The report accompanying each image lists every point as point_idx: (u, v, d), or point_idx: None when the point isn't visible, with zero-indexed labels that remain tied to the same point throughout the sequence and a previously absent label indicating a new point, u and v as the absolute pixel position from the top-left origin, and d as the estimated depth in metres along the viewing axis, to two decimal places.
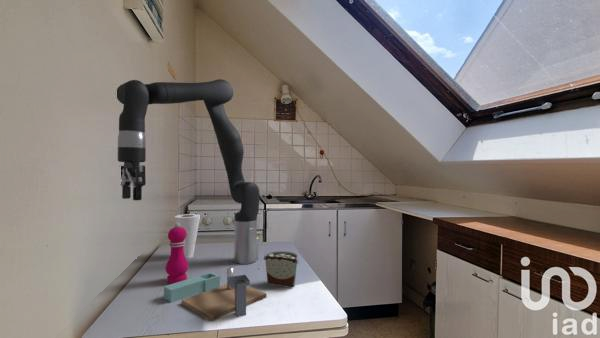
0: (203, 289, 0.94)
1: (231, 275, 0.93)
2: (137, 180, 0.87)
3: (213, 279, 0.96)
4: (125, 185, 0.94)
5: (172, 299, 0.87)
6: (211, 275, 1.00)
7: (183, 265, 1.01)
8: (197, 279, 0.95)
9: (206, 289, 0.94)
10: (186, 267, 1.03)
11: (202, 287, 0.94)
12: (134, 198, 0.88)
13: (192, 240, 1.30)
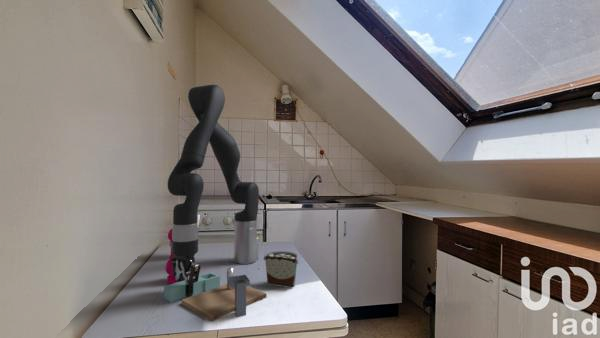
0: (203, 289, 0.94)
1: (231, 275, 0.93)
2: (191, 279, 0.88)
3: (213, 279, 0.96)
4: (180, 278, 0.93)
5: (172, 299, 0.87)
6: (211, 275, 1.00)
7: None
8: None
9: (206, 289, 0.94)
10: None
11: (202, 287, 0.94)
12: (187, 294, 0.89)
13: None
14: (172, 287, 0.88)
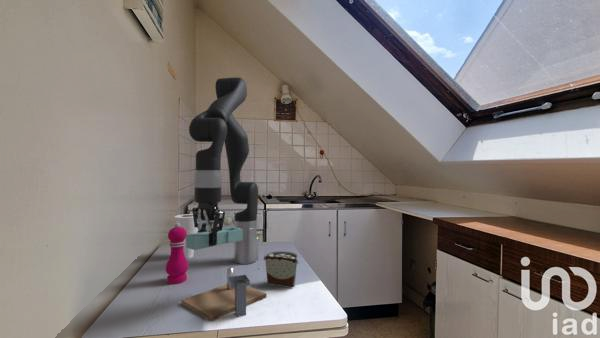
0: (226, 241, 0.90)
1: (231, 275, 0.93)
2: (215, 227, 0.83)
3: (236, 232, 0.92)
4: (202, 229, 0.89)
5: (195, 247, 0.82)
6: (233, 229, 0.96)
7: (183, 265, 1.01)
8: (220, 231, 0.90)
9: (229, 241, 0.90)
10: (186, 267, 1.03)
11: (225, 239, 0.90)
12: (210, 244, 0.85)
13: None
14: (195, 235, 0.84)
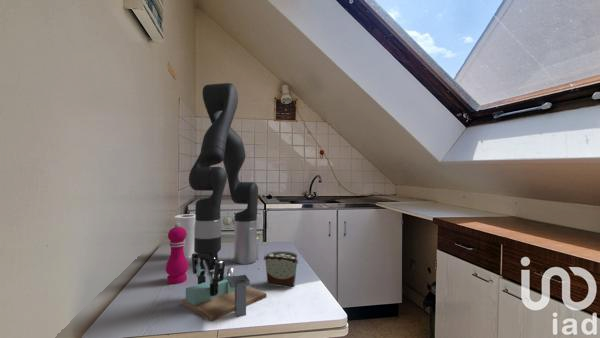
0: (226, 291, 0.90)
1: (231, 275, 0.93)
2: (216, 278, 0.83)
3: None
4: (200, 276, 0.89)
5: (195, 302, 0.82)
6: None
7: (183, 265, 1.01)
8: (220, 281, 0.90)
9: (229, 291, 0.90)
10: (186, 267, 1.03)
11: (225, 289, 0.89)
12: (211, 294, 0.84)
13: (192, 240, 1.30)
14: (195, 289, 0.84)
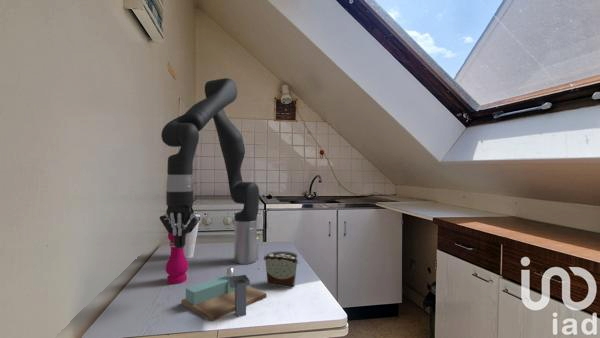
0: (226, 291, 0.90)
1: (231, 275, 0.93)
2: (188, 230, 0.88)
3: None
4: None
5: (195, 302, 0.82)
6: None
7: (183, 265, 1.01)
8: (220, 281, 0.90)
9: (229, 291, 0.90)
10: (186, 267, 1.03)
11: (225, 289, 0.89)
12: (179, 246, 0.88)
13: (192, 240, 1.30)
14: (195, 289, 0.84)
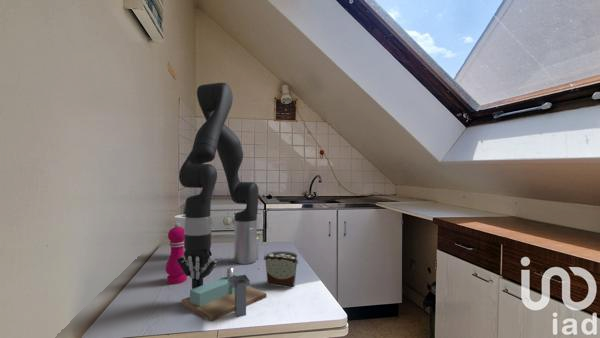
0: (229, 292, 0.89)
1: (231, 275, 0.93)
2: (206, 274, 0.86)
3: None
4: None
5: (201, 303, 0.81)
6: None
7: None
8: (223, 281, 0.90)
9: (233, 291, 0.90)
10: None
11: (229, 289, 0.89)
12: None
13: None
14: (200, 290, 0.83)
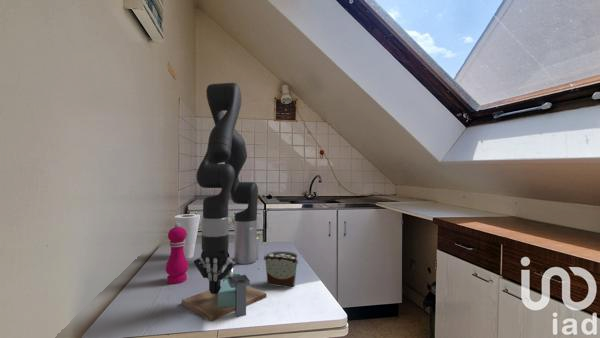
0: None
1: (231, 275, 0.93)
2: (224, 276, 0.84)
3: None
4: None
5: (234, 303, 0.82)
6: None
7: (183, 265, 1.01)
8: None
9: None
10: (186, 267, 1.03)
11: None
12: (215, 292, 0.85)
13: (192, 240, 1.30)
14: (229, 291, 0.82)
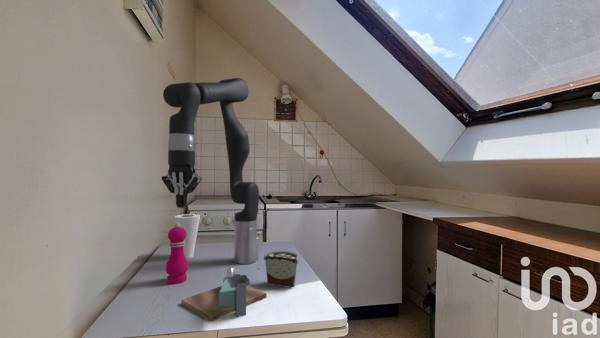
0: None
1: (231, 275, 0.93)
2: (190, 189, 0.88)
3: None
4: None
5: None
6: None
7: (183, 265, 1.01)
8: None
9: None
10: (186, 267, 1.03)
11: None
12: (181, 205, 0.89)
13: (192, 240, 1.30)
14: (229, 291, 0.82)
